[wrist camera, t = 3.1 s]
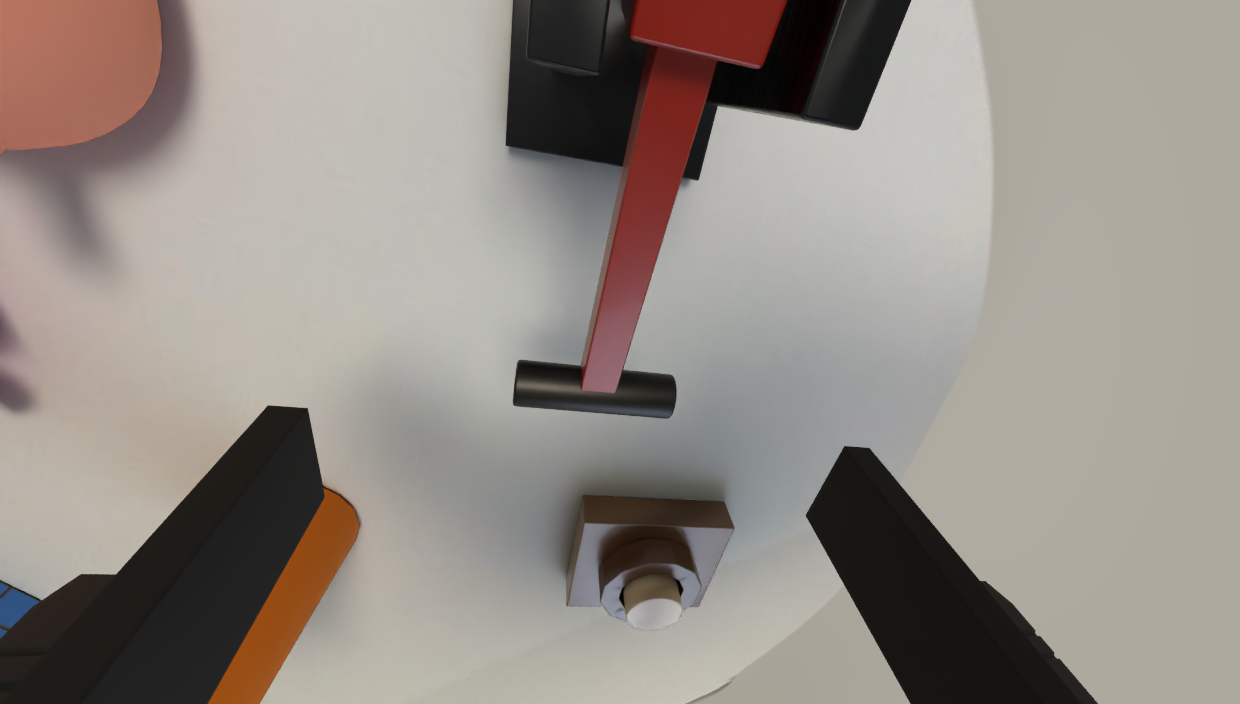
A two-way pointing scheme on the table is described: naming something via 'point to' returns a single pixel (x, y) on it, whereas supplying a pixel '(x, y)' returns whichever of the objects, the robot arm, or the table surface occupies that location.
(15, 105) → the teapot
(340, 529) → the spray bottle
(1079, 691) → the robot arm
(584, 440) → the table surface
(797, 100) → the bracket
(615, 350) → the lever
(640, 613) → the button
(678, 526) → the button block
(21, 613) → the puzzle toy
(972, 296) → the table surface
